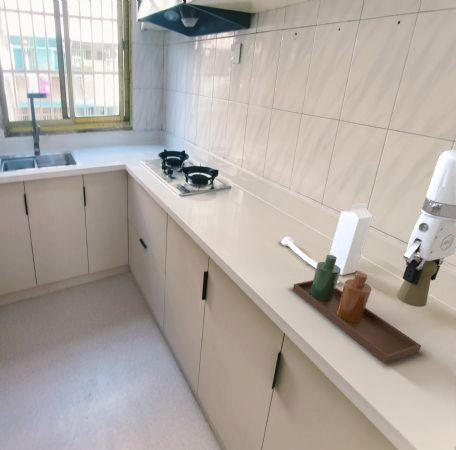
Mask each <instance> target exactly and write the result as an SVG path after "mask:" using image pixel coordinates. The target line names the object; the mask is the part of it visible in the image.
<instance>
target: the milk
mask: <svg viewBox="0 0 456 450" xmlns="http://www.w3.org/2000/svg"><path fill="white" fill-rule="evenodd" d="M373 217H374V216H373V215H372V213H371V212H370V211H369V210H368V209H367V202H363V203H356V204H353V205H352V206H351V209H348V210H342V211H341V212H340V215H339V219H338V223H337V226H336V230H335V233H334V237H333V241H332V244H331V248H330V250H329V251H330V252H329V255H333V256H335V257H336V258H337V259H336V263H335V265H337V266H338V267H339V268H340V269H341V271H340V274H339V276H340V275H341V276H345V275H348V274H352V273H356V272H357V268H358V265H359V262H360V259H361V256H362V253H363V249H364V246H365V242H366V240H367V237H368V233H369V230H370V227H371V224H372V221H373Z"/></svg>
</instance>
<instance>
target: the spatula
mask: <svg viewBox="0 0 456 450" xmlns="http://www.w3.org/2000/svg"><path fill="white" fill-rule="evenodd" d="M281 245H283V246H284V247H289V248H290V249H291V250H292V251H293V252H294V253H295V254H296V255H298V256H299V257H300V258H301V259H302V260H303V261H304V262H306V263H307V264H309V265H310V266H311V267H313V268H314V269H316V267H317V264H318V263H319V262H317V261H315V260H314V259H312V258H310V257H309V256H308V255H307V254H306V253H305V252H303V251H302V250H301V249H300V248H299V247H298V246H296V244H295V243H294V239H293V238H292V237H290V236H286V237H283V239H282V240H281ZM339 283H340V280H338V281H337V284H339ZM337 284H336V285H337Z"/></svg>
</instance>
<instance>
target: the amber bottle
mask: <svg viewBox="0 0 456 450" xmlns="http://www.w3.org/2000/svg"><path fill="white" fill-rule="evenodd" d="M367 279H368V275H367V274H366V273H364V272H361V271H358V272H357V271H356V272H355V275H354V278H353V279H352V278H350V279H346V280H345V282H344V285H343V288H342V290H341V291H342V294H341V297H340V301H339V304H338V307H337V310H336V314H337V316H339V317H340V318H341V319H342V320H344V321H347V322H350V323H359V322H360V321H361V319H362V316H363V313H364V310H365V308H367V304H368V301H369V299H370V296H371V294H372V287H371V285H370V284H368V283H366V282H367Z"/></svg>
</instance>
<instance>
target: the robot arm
mask: <svg viewBox="0 0 456 450" xmlns="http://www.w3.org/2000/svg"><path fill="white" fill-rule="evenodd" d="M435 165H436V166H435V168H434V171H433V174H432V177H431V179H430V184H429V186H428V189H427V192H426V195H425V197H424V201H423V204H422V206H421V209H420V212H421V213H420V215H419V217H418V219H417V221H416V223H415V225H414V228H413V230H412V232H411V235H410V237H409V241H408V242H407V243H408V244H407V248H406V252H404V254H403V256H402V257H403V259H404V260H405V265H406V267H405V269H404V273H403V275H402V279H403V281H405V280H406V281H408V282H410V283H411V284H413V285H417V284H418V282H419V279H420V276H421V273H422V271H423V270H421V268H422V266H423V264H424V263H425V261H431V260H432V261H434V262H435V263H436V264H437V271H436V273H435V274H434V275H432V276H431V281H435V280H436V278H437V276H438V273H439V270H440V268H441V265H443V264H444V259H445V258H447V257H451V256H453V255H454V254H455V253H456V149H448V150H445V151H443V152H442V153H441V154H440V155H439V157H438V160H437V162H436V164H435ZM418 253H419V254H418ZM416 257H417V258H419V259H420V261H419V262H417V260H415V258H416Z"/></svg>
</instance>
